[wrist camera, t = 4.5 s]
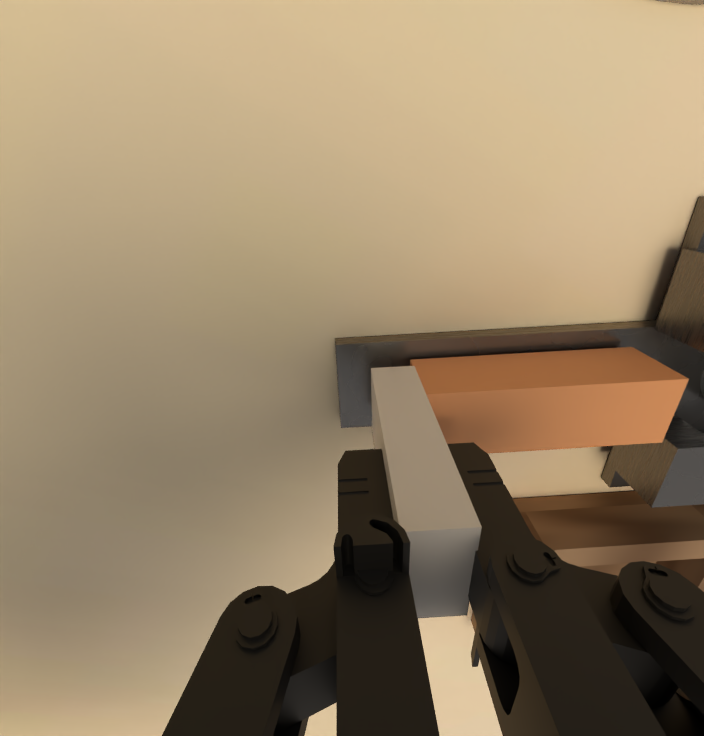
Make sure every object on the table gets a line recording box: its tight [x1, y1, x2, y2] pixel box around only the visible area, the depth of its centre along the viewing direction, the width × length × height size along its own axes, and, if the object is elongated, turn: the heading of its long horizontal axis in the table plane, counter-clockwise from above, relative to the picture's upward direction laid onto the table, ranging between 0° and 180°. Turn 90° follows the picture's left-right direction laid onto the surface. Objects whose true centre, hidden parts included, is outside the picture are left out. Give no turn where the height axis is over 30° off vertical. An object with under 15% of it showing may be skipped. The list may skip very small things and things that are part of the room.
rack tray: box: [471, 491, 704, 631], centre depth 19 cm, size 10×10×3 cm
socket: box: [335, 197, 704, 508], centre depth 13 cm, size 23×12×3 cm, turn 93°
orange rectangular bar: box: [410, 347, 689, 453], centre depth 13 cm, size 8×2×2 cm, turn 93°
